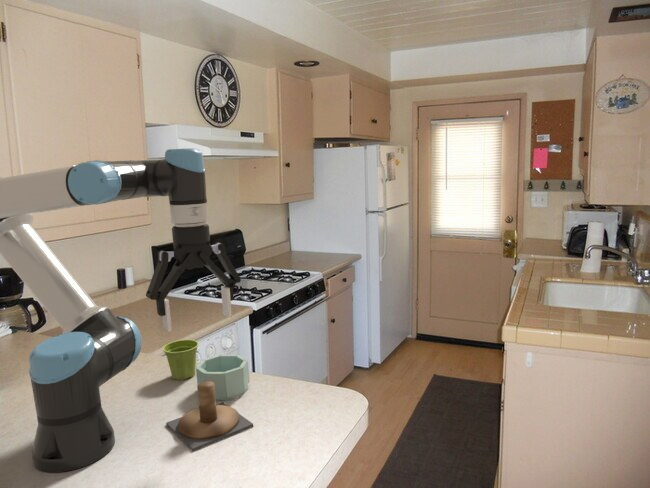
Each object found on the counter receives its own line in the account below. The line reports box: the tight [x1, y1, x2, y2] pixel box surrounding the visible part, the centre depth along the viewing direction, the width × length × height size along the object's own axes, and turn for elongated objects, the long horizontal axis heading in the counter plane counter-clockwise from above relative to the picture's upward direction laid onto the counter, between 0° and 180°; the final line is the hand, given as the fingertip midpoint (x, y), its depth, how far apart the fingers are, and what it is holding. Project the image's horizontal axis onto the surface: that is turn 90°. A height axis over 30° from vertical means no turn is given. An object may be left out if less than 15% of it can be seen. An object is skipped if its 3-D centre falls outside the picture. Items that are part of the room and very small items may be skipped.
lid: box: [178, 381, 240, 439], centre depth 111 cm, size 13×13×9 cm
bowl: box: [195, 354, 250, 402], centre depth 129 cm, size 12×12×7 cm
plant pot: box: [162, 339, 200, 381], centre depth 139 cm, size 9×9×9 cm
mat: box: [165, 401, 254, 452], centre depth 112 cm, size 14×14×1 cm
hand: (198, 322), depth 109 cm, fingers open, 13 cm apart
